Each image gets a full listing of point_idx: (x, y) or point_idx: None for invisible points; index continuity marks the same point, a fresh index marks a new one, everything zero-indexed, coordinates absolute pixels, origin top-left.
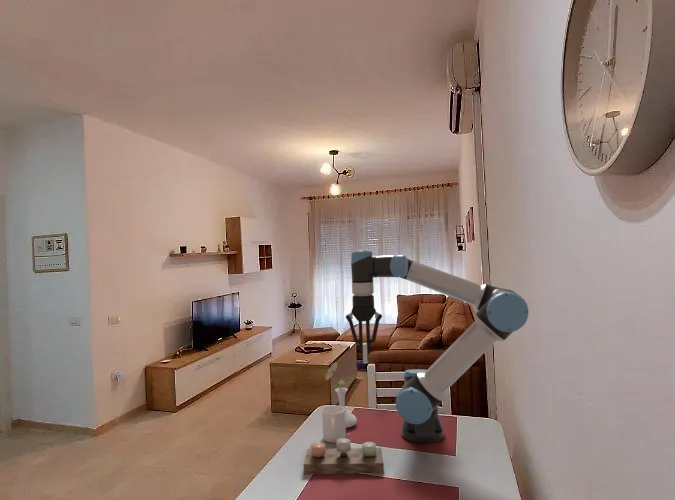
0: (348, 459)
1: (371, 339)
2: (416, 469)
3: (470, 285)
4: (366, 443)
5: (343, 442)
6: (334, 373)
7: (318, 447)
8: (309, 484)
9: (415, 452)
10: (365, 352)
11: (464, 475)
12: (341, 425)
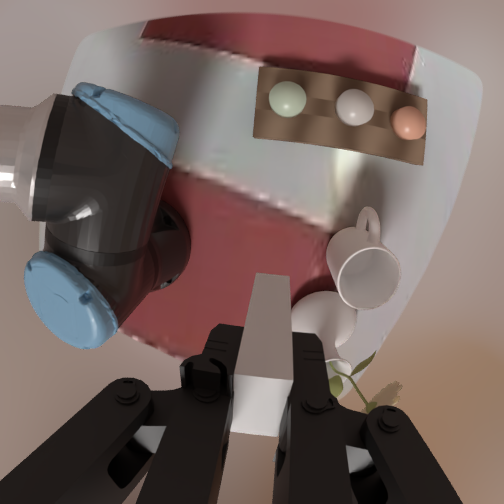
0: (338, 93)
1: (154, 421)
2: (191, 85)
3: None
4: (293, 107)
5: (356, 99)
6: (365, 402)
7: (410, 113)
8: (405, 67)
9: (176, 156)
10: (265, 320)
11: (117, 72)
12: (345, 241)
